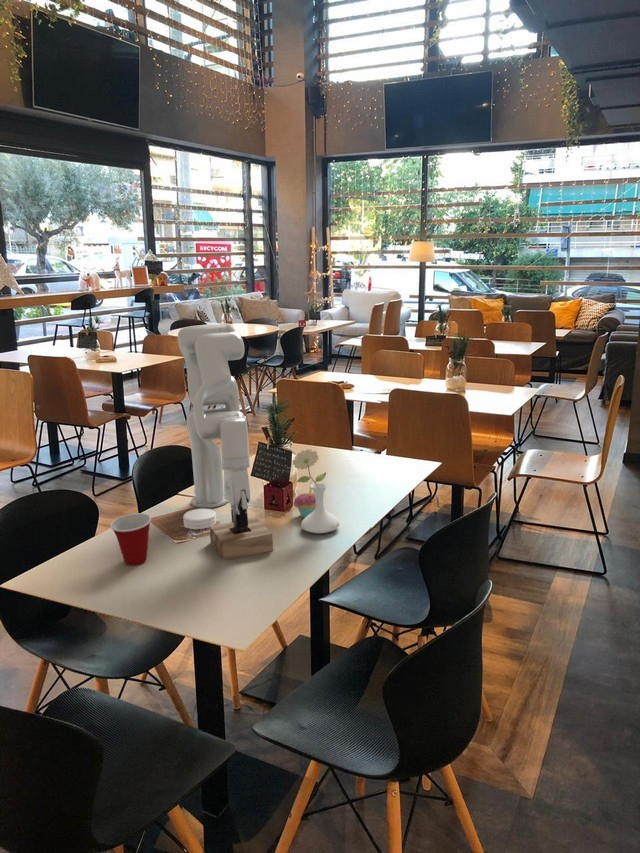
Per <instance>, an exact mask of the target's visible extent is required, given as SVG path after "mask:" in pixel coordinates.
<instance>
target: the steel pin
mask: <svg viewBox="0 0 640 853" xmlns="http://www.w3.org/2000/svg"><path fill="white" fill-rule="evenodd" d="M239 503H241V501H239ZM240 507H242V505H241V506H239V509H240ZM232 510H233V524H234V535H235V534H240V533H245V532H247V527H242V528H237V526H236V514H237V510H236V505H235V506H234V505H232Z"/></svg>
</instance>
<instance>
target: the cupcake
mask: <svg viewBox="0 0 640 853" xmlns="http://www.w3.org/2000/svg"><path fill="white" fill-rule="evenodd" d="M309 484H310V485H311V484H313V480H311V481H310V483H309ZM310 485H309V493H300V494H299V495H298V496H296V498H294V502H293V506H294V507H295V508H297V509H298V512H299V513H300V516H301V517H302V518H303V519H305V518H306V517H307V516H308V515H309V514H311V513H312V512H313V511H314V510H315V506H316V501H315V494H314V492H313V490H312V488H311V487H310ZM312 492H313V493H312Z"/></svg>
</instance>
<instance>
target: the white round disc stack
mask: <svg viewBox="0 0 640 853" xmlns="http://www.w3.org/2000/svg"><path fill="white" fill-rule="evenodd" d="M182 519H183V526H184V528H186V529H188V528H189V529H188V530H192V529H194V530H196V529H197V530H198V529H200V530H206V529H210V528H209V527H210V526H213V525H217V513H216V511H214V510H213V509H212V508H196V509H191V510H189V511H186V512H185V513H184V514H183V516H182ZM205 528H206V529H205ZM197 530H196V531H197ZM198 531H199V530H198Z"/></svg>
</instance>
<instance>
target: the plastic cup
mask: <svg viewBox="0 0 640 853" xmlns="http://www.w3.org/2000/svg"><path fill="white" fill-rule="evenodd" d="M151 521H152V516H150V515H149V514H147V513H139V512H138V513H129V514H125V515H122V516H120V517H117V518H116V519H114V520H112V521H111V523H110V529H111V530H113V532H114V534H115V537H116V539H117V542H118V546H119V549H120V552H121V554H122V558H123V562H124V563H125V565H128V566H131V567H132V566H138V565H139V566H140V565H141V564H144V563H145V562H146V561H147V558H148V549H149V535H150V527H151Z"/></svg>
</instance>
